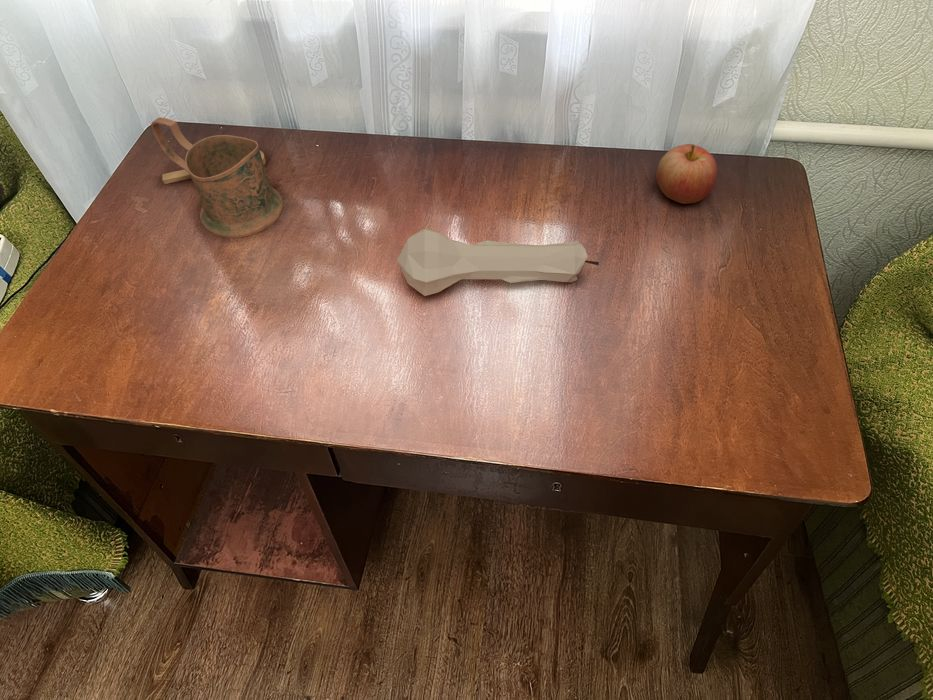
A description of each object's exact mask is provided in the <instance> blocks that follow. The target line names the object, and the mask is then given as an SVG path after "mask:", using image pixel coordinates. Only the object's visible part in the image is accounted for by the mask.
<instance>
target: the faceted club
mask: <svg viewBox="0 0 933 700" xmlns="http://www.w3.org/2000/svg"><path fill="white" fill-rule="evenodd" d="M588 257H589V256H588V253H587V250H586V248H585V247H584V245H582V243H580V241H578V240H575V241H574V240H573V241H569V242H559V243H550V244H549V243H548V244H541V245H540V244H531V243H530V244H529V243H516V242H515V243H514V242H501V241H496V240H487V239H485V240H483V241H480V242H476V243H474V244H469V243H466V242H461V241H457V240H455V239H452V238H449V237H448V236H446V235H444V234H443V233H441V232H439V231H437V230H433V229H429V228H426V227H423V229H421V230H419V231H417V232H416V233H414V234H412V235H411V236H409V237H408V238H407V240H406V242H405V244H404V246H403V247H402V249H401V251H400V253H399V255H398V257H397V259H396V263H397V264H398V266H399V268H400V270H401V272H402V274H403V276H404V279H405V281H406V283H407V285H409V286H410V287H412V288H413V289H414V290H415V291H417V292H419V293H420V294H421V295H422V296H423V297H426V296H430V295H434V294H437V293H440V292H442V291H444V290H445V289H447V288H448V287H451V286H452V285H454V284H455V283H457V282H459V281H461V280H502V281H505V282H507V283H510V284H513V283H514V284H515V283H523V282H531V281H532V282H534V281H540V280H542V281H549V282H550V281H552V282H561V283H574V282H576V281H577V280H578V277H577V275H578V274H580V272H581V270H582V269H583V267H584V265H585V263H587V264H591V265H594V266H599V265H600V262H599V261H594V260H593V261H592V260H587V259H588Z"/></svg>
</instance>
